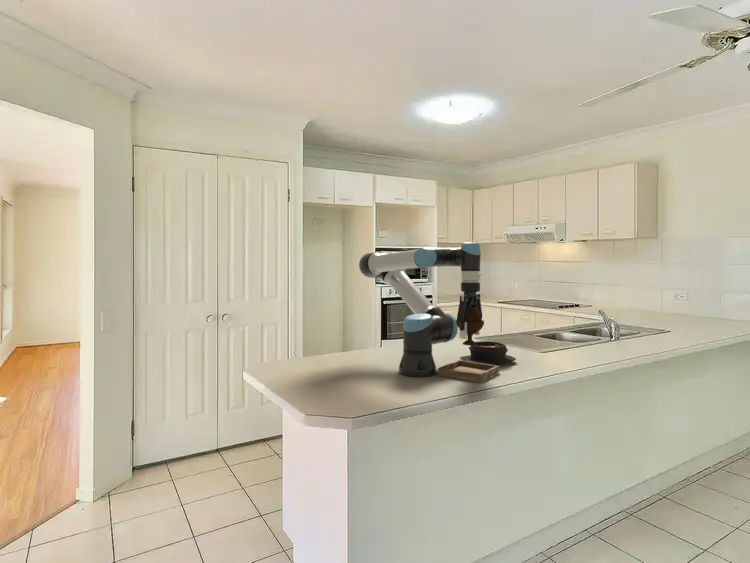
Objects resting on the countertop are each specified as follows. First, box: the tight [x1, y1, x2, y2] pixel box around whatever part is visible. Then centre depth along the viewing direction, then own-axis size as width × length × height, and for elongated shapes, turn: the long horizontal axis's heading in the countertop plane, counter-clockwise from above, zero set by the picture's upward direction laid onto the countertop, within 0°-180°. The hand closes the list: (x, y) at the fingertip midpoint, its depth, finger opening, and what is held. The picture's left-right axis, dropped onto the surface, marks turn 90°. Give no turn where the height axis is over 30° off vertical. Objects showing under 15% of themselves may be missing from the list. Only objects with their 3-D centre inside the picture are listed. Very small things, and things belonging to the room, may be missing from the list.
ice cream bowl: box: [456, 307, 485, 346], centre depth 188 cm, size 11×11×15 cm
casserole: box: [459, 340, 516, 366], centre depth 210 cm, size 25×19×8 cm
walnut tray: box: [437, 359, 500, 383], centre depth 189 cm, size 18×18×3 cm
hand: (469, 336), depth 188 cm, fingers closed on ice cream bowl, 11 cm apart
